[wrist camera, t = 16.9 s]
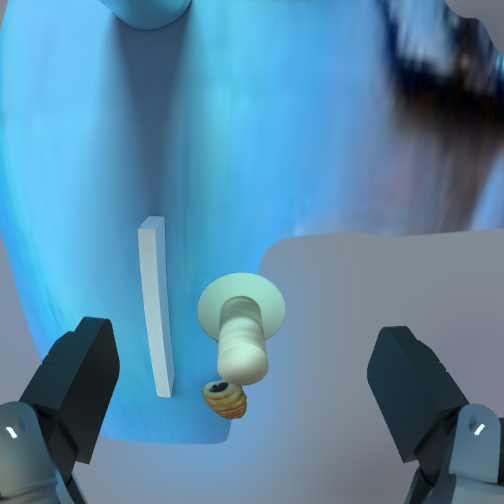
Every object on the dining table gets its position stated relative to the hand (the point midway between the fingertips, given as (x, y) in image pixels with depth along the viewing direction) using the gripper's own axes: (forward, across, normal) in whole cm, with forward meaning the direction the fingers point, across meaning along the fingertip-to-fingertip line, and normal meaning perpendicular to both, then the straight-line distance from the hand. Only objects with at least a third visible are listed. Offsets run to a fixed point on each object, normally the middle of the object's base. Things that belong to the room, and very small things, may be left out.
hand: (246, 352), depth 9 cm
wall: (+30, +10, +18) cm, 36 cm away
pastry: (+31, 0, +35) cm, 46 cm away
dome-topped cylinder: (+30, -1, +18) cm, 35 cm away
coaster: (+30, -2, +18) cm, 35 cm away
